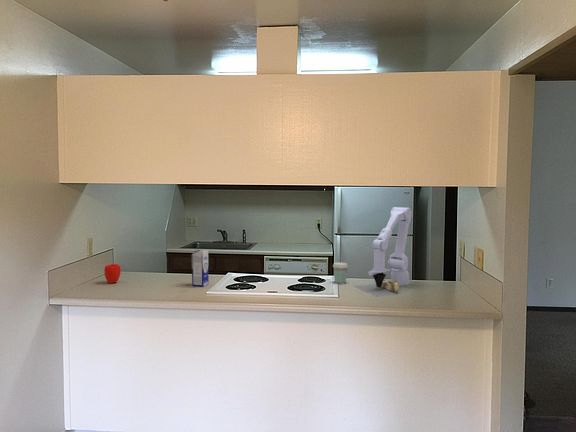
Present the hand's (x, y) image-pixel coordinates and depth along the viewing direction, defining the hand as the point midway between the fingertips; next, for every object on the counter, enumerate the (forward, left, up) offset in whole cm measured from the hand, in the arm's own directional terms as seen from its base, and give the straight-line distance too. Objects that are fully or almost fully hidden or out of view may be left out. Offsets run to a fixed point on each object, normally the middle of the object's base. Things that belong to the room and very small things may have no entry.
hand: (378, 287), depth 239 cm
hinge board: (+1, +1, -2) cm, 2 cm away
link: (-5, 0, -1) cm, 5 cm away
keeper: (-4, +8, -1) cm, 9 cm away
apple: (+133, -69, -2) cm, 150 cm away
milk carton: (+87, -46, -2) cm, 98 cm away
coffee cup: (+12, -22, -2) cm, 25 cm away
